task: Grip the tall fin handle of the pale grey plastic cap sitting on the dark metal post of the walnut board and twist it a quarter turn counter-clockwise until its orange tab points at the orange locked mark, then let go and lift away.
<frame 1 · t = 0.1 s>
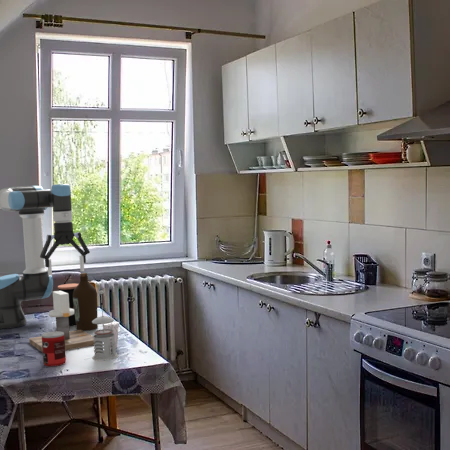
hand: (66, 273, 269), 28 cm above the table, tool pointing down, fingers open, 13 cm apart
canned food: (54, 364, 236), on the table
olive oil: (87, 328, 291), on the table
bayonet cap: (61, 303, 264), point 17 cm above the table, hinge at 0.0°
coffee jar: (71, 324, 303), on the table
post board: (63, 343, 265), on the table
french press: (106, 357, 241), on the table
smoothie: (112, 348, 255), on the table
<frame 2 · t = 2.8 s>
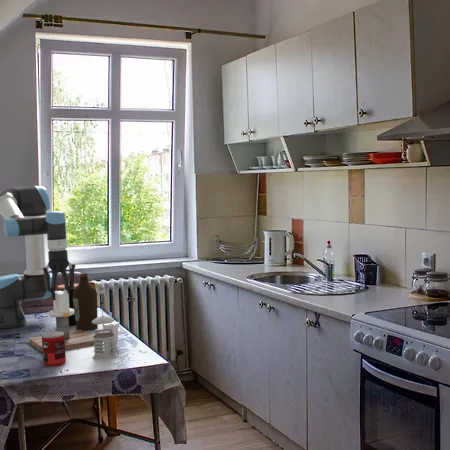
hand: (61, 307, 264), 15 cm above the table, tool pointing down, fingers closed on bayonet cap, 3 cm apart
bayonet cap: (61, 303, 264), point 17 cm above the table, hinge at 0.0°, touching gripper
everything else where it was.
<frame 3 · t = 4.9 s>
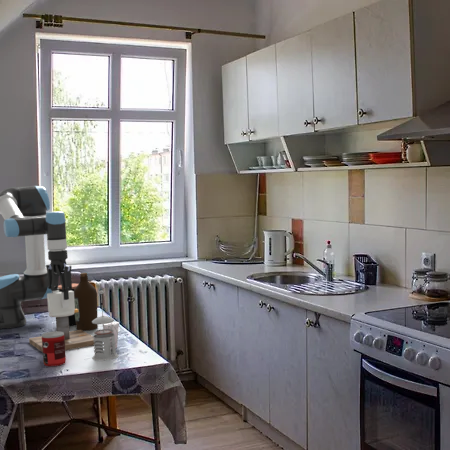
hand: (61, 306, 264), 15 cm above the table, tool pointing down, fingers closed on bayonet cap, 5 cm apart
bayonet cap: (63, 303, 265), point 17 cm above the table, hinge at 88.0°, touching gripper
everything else where it was.
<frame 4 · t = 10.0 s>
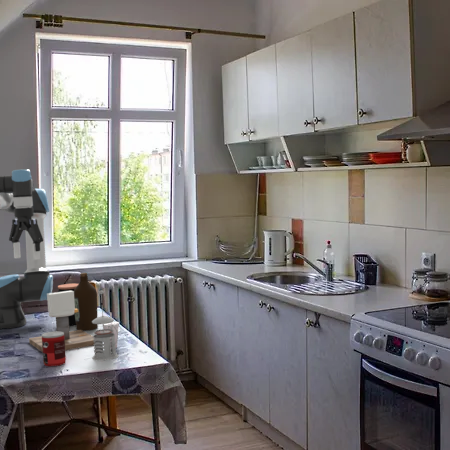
hand: (27, 258, 269), 35 cm above the table, tool pointing down, fingers open, 13 cm apart
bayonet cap: (63, 303, 265), point 17 cm above the table, hinge at 90.5°
everything else where it was.
at the end: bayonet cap at +90° (first picture: +0°); the gripper is holding nothing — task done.
